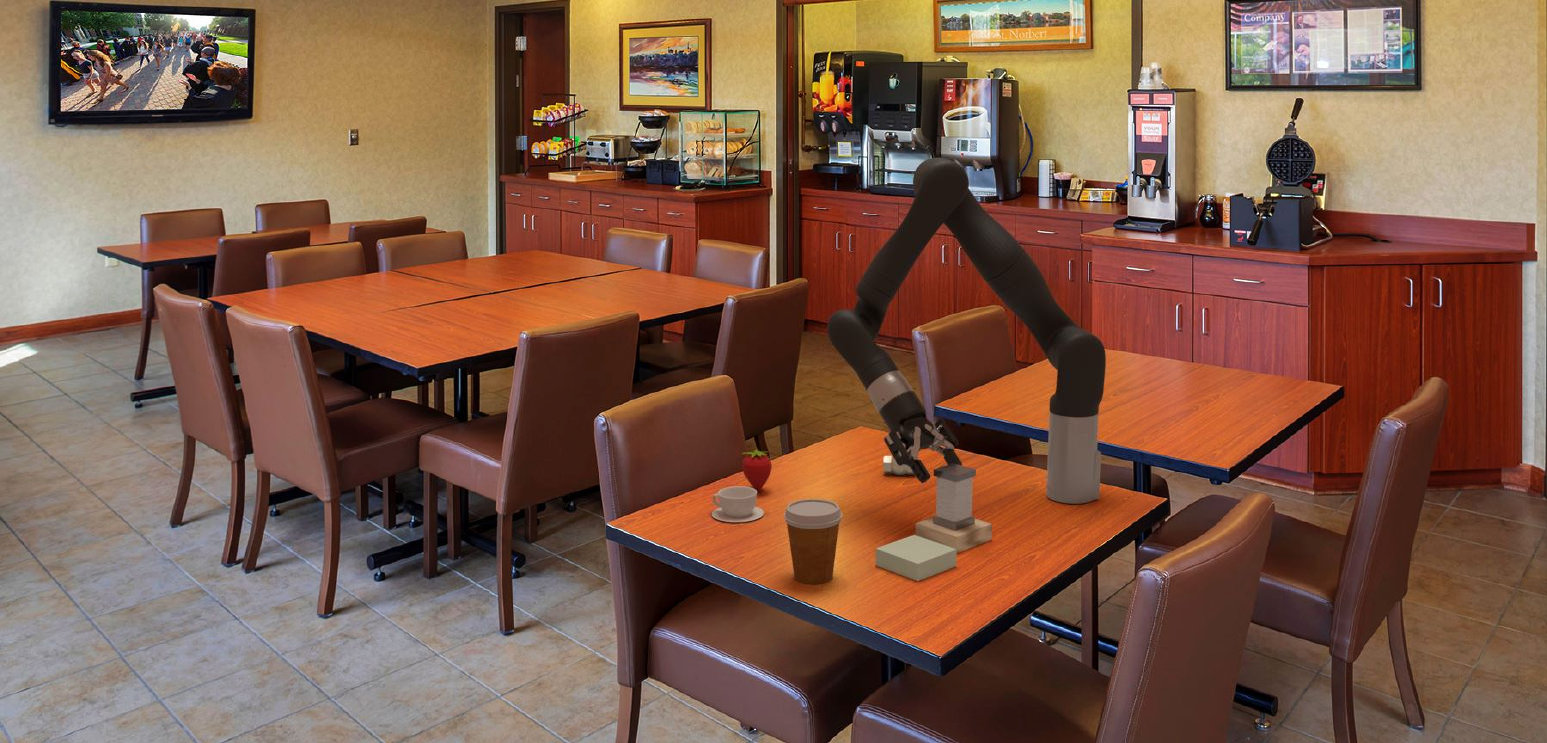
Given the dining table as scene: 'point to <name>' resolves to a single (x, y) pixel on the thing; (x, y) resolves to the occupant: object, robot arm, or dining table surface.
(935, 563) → the stand
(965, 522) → the grey square pillar
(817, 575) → the disposable coffee cup
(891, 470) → the valve
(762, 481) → the strawberry
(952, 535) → the stand
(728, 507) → the teacup
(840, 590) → the dining table surface
